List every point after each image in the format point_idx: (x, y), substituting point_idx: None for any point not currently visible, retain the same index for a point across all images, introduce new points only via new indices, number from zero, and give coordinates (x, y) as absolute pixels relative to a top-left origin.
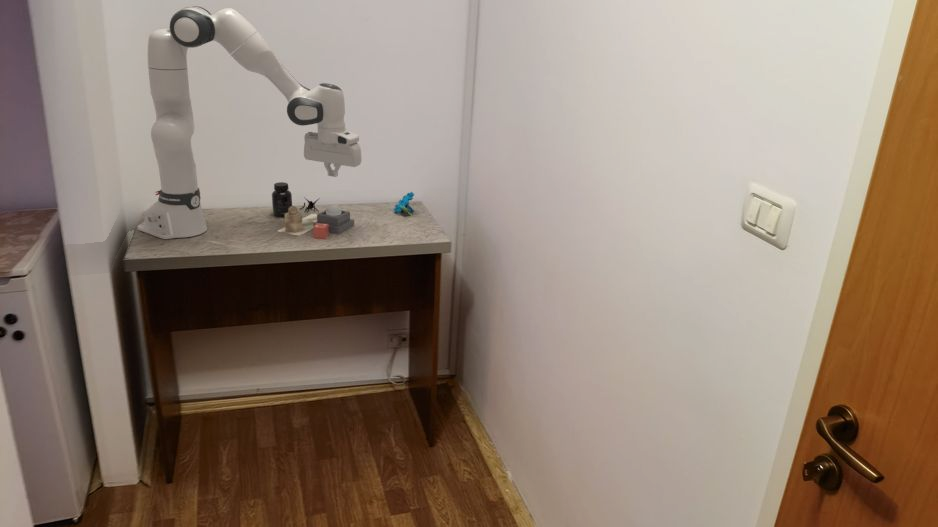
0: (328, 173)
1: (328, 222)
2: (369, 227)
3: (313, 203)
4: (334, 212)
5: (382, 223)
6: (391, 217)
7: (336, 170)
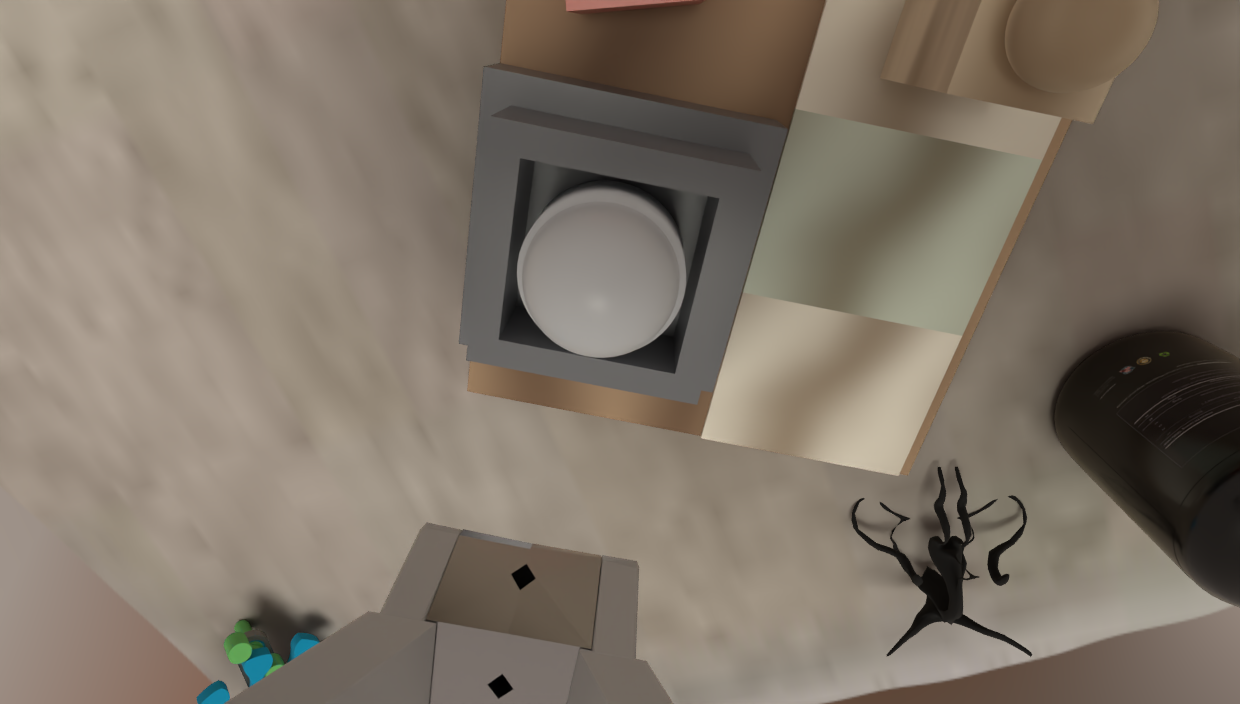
0: (606, 590)
1: (616, 130)
2: (374, 353)
3: (920, 579)
4: (559, 213)
5: (330, 454)
6: (336, 568)
7: (326, 665)
